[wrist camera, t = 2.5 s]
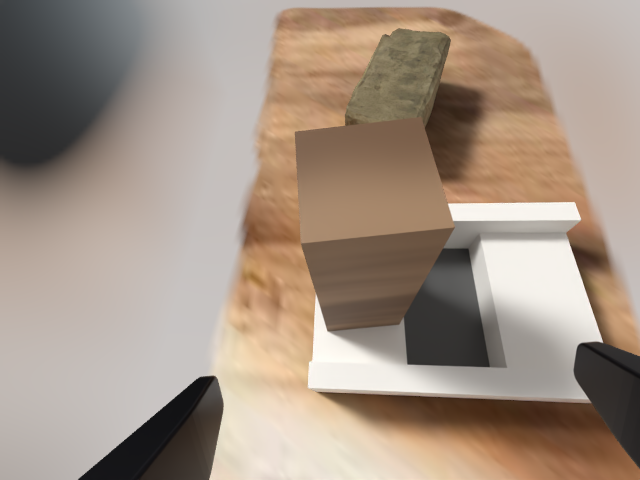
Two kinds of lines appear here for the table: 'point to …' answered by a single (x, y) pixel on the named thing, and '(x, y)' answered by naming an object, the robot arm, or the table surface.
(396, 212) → the walnut block
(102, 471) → the robot arm
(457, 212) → the walled channel
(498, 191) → the table surface
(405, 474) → the table surface
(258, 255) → the table surface
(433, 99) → the stone block
